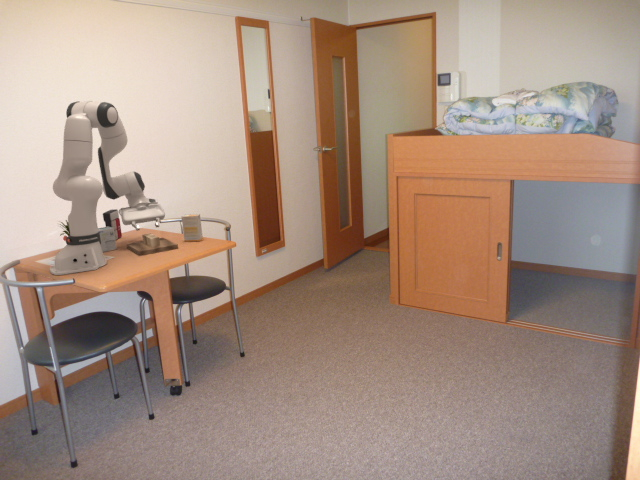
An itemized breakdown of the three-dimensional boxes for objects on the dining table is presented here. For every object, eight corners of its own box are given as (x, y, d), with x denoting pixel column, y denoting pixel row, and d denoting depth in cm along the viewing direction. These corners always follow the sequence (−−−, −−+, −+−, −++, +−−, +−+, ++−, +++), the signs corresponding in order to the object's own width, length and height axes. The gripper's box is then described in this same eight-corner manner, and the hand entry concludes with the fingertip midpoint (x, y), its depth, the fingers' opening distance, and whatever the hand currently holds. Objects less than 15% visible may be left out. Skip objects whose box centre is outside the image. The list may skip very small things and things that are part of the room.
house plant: (49, 254, 257) (43, 221, 253) (68, 247, 270) (63, 215, 266) (75, 255, 254) (70, 220, 250) (93, 247, 267) (88, 215, 263)
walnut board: (140, 255, 246) (139, 251, 246) (127, 248, 262) (126, 244, 262) (178, 248, 256) (177, 244, 256) (163, 241, 272) (162, 237, 272)
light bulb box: (111, 247, 266) (108, 225, 263) (117, 249, 261) (114, 227, 258) (89, 252, 259) (86, 229, 256) (95, 254, 254) (92, 231, 251)
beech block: (143, 242, 263) (151, 247, 253) (142, 234, 262) (150, 238, 252) (151, 241, 265) (160, 245, 255) (150, 233, 264) (159, 237, 254)
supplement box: (203, 239, 273) (200, 213, 270) (200, 241, 268) (197, 215, 265) (187, 239, 274) (184, 214, 271) (184, 241, 269) (181, 216, 266)
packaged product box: (115, 241, 277) (110, 213, 274) (106, 242, 277) (102, 213, 274) (122, 236, 288) (119, 209, 284) (114, 237, 288) (110, 209, 285)
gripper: (118, 204, 256) (127, 227, 251) (160, 198, 268) (169, 220, 262) (116, 212, 261) (125, 235, 255) (158, 206, 272) (167, 228, 267)
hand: (148, 228), depth 259 cm, fingers open, 8 cm apart
